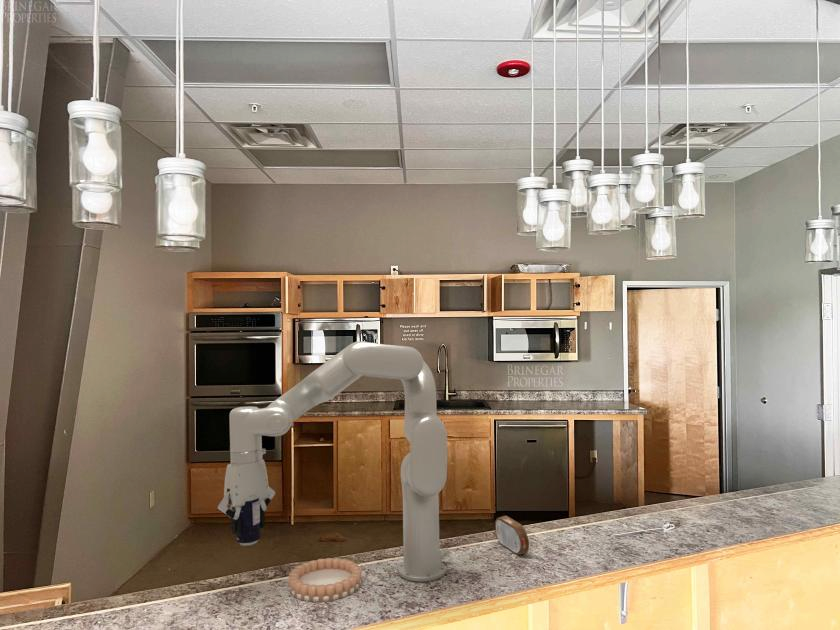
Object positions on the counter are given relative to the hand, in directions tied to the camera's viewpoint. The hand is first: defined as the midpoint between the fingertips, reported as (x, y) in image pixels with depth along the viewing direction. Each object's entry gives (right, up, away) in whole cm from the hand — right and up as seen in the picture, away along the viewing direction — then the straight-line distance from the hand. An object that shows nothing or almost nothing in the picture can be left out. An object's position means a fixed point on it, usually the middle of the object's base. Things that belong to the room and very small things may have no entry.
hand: (248, 529), depth 134 cm
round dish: (+19, -15, +2) cm, 24 cm away
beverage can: (0, -3, 0) cm, 3 cm away
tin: (+69, -15, +23) cm, 75 cm away
